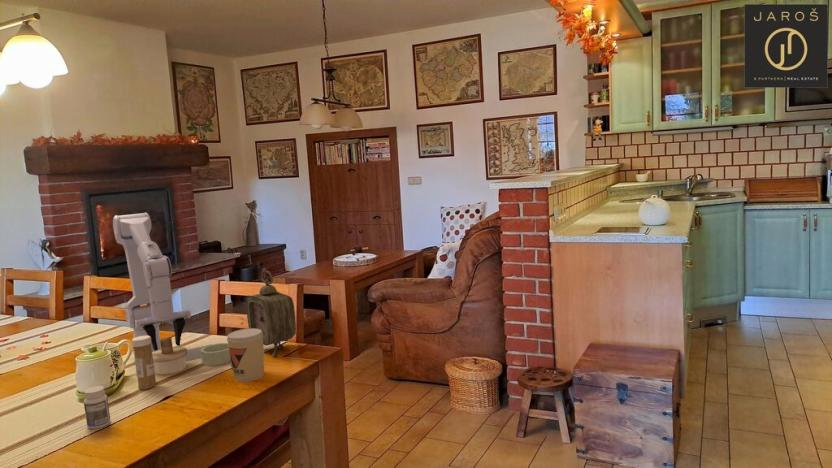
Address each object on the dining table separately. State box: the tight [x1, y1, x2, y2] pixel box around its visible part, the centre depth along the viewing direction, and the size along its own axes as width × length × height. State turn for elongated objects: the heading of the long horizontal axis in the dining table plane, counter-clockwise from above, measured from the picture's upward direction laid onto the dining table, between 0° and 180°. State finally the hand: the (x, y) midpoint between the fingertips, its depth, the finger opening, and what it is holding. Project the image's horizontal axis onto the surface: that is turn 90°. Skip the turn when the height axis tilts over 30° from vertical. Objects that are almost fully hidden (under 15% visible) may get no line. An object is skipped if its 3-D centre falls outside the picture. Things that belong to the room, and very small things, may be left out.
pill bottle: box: [83, 385, 111, 430], centre depth 135 cm, size 5×5×8 cm
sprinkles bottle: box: [131, 336, 157, 390], centre depth 158 cm, size 5×5×13 cm
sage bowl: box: [201, 342, 231, 366], centre depth 176 cm, size 9×9×4 cm
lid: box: [152, 337, 188, 362], centre depth 170 cm, size 10×10×5 cm
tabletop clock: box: [245, 269, 297, 358], centre depth 181 cm, size 14×9×25 cm, turn 41°
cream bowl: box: [154, 356, 187, 375], centre depth 171 cm, size 9×9×4 cm
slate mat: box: [185, 343, 212, 362], centre depth 185 cm, size 12×11×1 cm
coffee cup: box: [226, 328, 265, 383], centre depth 160 cm, size 9×9×12 cm
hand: (166, 347), depth 170 cm, fingers open, 5 cm apart
